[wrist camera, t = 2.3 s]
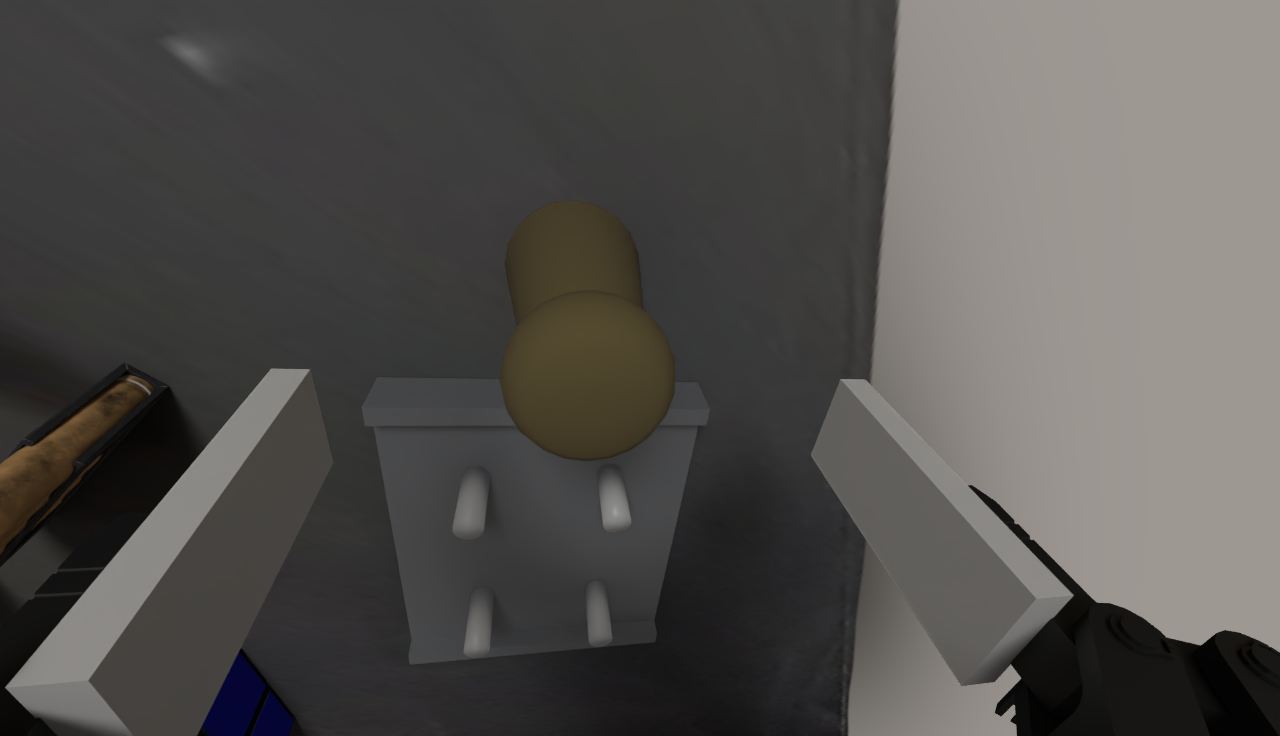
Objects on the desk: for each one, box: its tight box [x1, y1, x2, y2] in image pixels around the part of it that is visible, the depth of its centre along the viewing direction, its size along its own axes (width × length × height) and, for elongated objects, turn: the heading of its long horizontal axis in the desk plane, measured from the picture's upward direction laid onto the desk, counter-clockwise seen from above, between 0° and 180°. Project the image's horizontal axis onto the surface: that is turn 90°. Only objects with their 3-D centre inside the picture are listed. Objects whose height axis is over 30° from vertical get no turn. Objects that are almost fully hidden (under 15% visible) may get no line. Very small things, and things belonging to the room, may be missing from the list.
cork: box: [500, 201, 675, 461], centre depth 18 cm, size 6×6×11 cm
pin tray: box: [362, 377, 710, 664], centre depth 29 cm, size 20×16×5 cm
